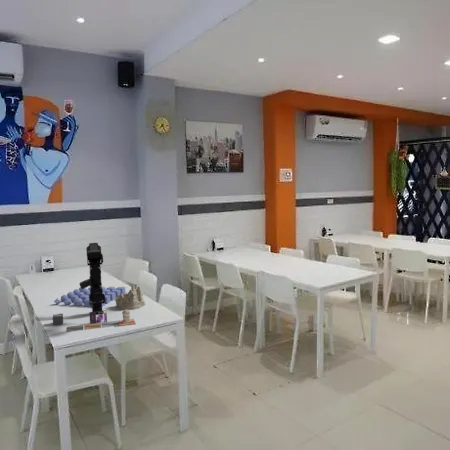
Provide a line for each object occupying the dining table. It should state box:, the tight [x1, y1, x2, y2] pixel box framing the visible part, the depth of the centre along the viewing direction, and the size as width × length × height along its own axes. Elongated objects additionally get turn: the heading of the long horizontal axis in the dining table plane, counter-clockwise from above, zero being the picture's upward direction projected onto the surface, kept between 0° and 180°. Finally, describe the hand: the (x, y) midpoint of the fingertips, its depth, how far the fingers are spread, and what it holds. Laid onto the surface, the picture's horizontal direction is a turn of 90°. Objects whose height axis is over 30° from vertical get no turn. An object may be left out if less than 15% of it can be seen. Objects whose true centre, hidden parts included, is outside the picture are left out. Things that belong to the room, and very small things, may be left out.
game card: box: [88, 310, 108, 324], centre depth 236 cm, size 7×5×9 cm
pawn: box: [121, 309, 132, 323], centre depth 234 cm, size 5×5×7 cm
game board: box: [65, 318, 136, 333], centre depth 230 cm, size 9×36×1 cm, turn 108°
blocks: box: [53, 286, 126, 308], centre depth 285 cm, size 35×34×5 cm
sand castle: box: [114, 284, 146, 311], centre depth 265 cm, size 16×16×15 cm
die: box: [52, 313, 64, 326], centre depth 234 cm, size 5×5×5 cm
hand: (97, 302), depth 233 cm, fingers open, 9 cm apart
